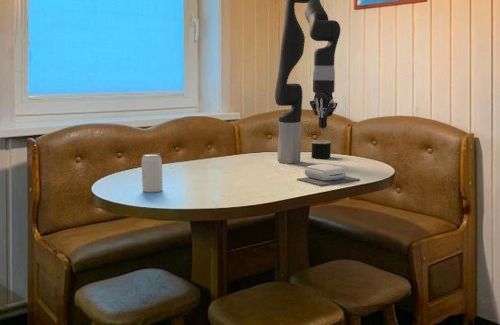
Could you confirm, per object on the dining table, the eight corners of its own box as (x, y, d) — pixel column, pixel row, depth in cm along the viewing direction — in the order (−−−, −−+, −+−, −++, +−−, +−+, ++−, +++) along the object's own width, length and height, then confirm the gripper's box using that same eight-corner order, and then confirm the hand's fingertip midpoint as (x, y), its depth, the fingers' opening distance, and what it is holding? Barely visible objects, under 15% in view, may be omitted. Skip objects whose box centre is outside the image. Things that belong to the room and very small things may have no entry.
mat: (297, 180, 197) (297, 178, 197) (335, 174, 206) (335, 173, 206) (320, 186, 186) (320, 184, 186) (359, 180, 195) (359, 179, 195)
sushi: (326, 159, 241) (326, 141, 240) (308, 158, 246) (308, 140, 244) (333, 157, 248) (333, 139, 247) (316, 155, 252) (316, 138, 251)
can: (143, 189, 183) (142, 153, 181) (163, 188, 184) (162, 152, 182) (141, 193, 177) (140, 156, 175) (161, 192, 177) (160, 155, 175)
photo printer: (325, 162, 204) (348, 167, 194) (325, 174, 205) (348, 179, 195) (304, 165, 199) (326, 170, 188) (303, 177, 199) (326, 182, 189)
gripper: (303, 78, 196) (302, 127, 199) (327, 79, 185) (326, 130, 188) (320, 78, 200) (319, 125, 203) (344, 79, 189) (343, 129, 192)
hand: (322, 128), depth 196 cm, fingers closed
